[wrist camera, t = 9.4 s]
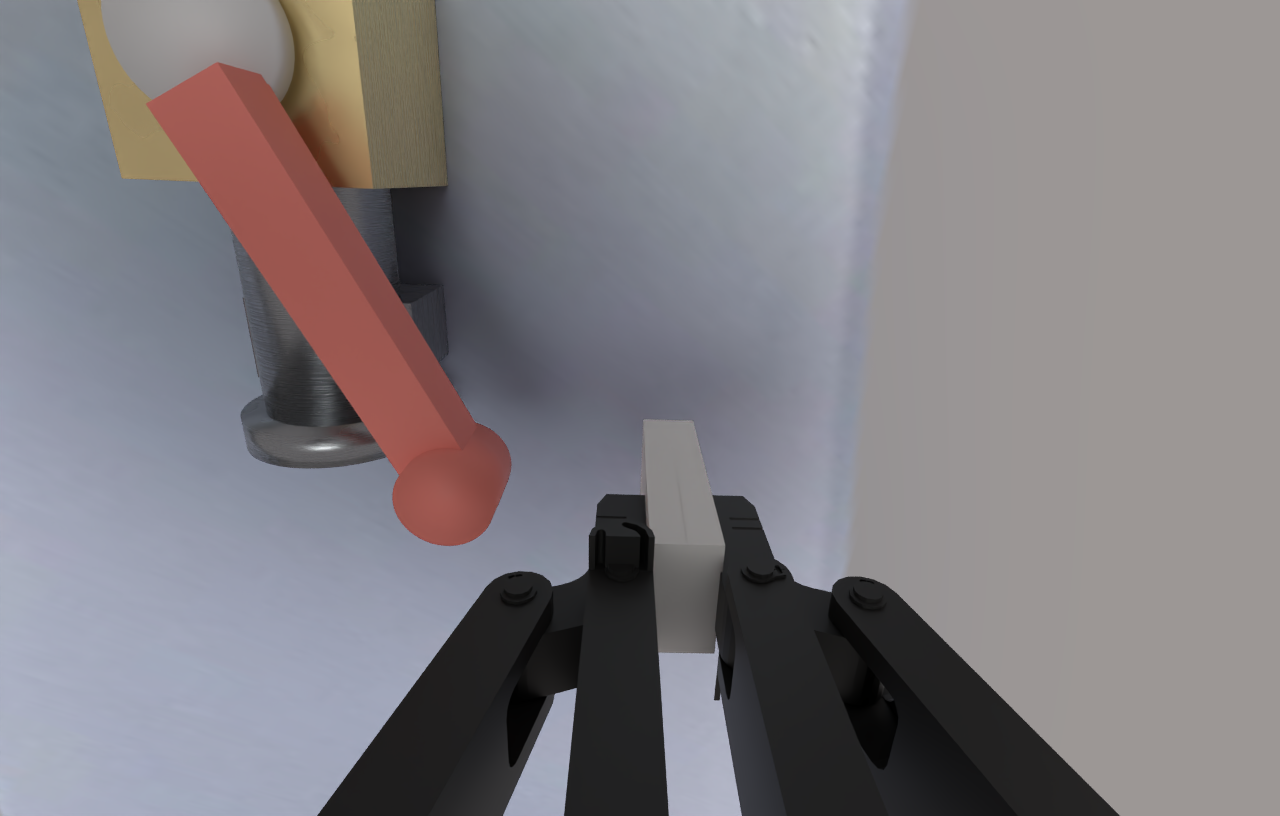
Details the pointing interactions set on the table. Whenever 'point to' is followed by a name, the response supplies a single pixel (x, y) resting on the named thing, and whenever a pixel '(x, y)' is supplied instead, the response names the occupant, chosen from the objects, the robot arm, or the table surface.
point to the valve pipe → (358, 173)
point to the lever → (309, 245)
